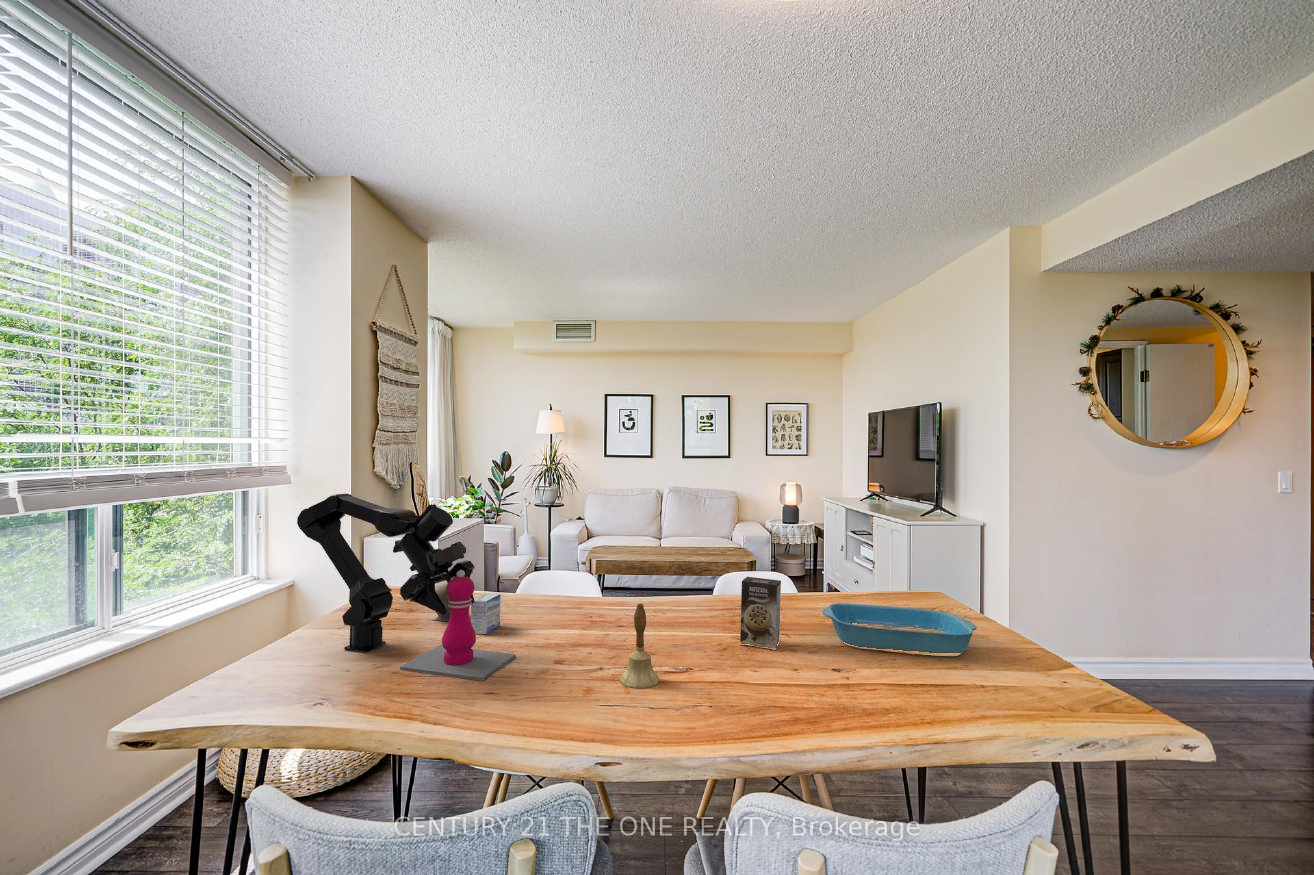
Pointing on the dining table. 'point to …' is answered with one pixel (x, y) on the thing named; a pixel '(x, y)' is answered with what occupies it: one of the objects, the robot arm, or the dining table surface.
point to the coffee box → (760, 612)
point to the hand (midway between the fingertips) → (459, 608)
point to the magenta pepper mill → (459, 622)
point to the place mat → (474, 670)
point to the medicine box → (486, 613)
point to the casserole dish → (899, 617)
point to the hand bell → (639, 658)
